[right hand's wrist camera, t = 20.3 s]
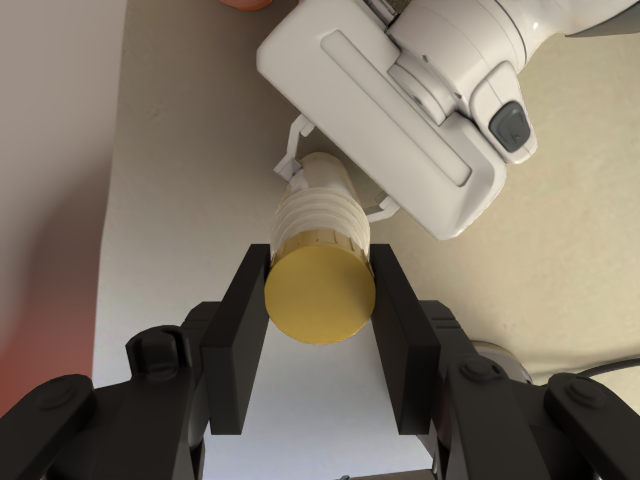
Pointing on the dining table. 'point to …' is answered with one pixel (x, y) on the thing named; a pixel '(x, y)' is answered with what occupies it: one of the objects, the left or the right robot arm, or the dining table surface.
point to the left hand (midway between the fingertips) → (312, 203)
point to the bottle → (320, 203)
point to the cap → (320, 287)
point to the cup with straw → (247, 4)
